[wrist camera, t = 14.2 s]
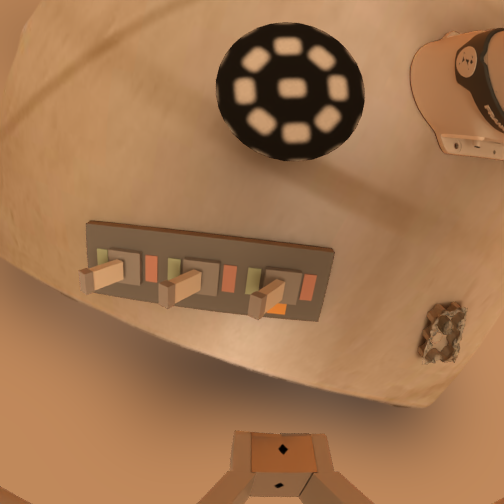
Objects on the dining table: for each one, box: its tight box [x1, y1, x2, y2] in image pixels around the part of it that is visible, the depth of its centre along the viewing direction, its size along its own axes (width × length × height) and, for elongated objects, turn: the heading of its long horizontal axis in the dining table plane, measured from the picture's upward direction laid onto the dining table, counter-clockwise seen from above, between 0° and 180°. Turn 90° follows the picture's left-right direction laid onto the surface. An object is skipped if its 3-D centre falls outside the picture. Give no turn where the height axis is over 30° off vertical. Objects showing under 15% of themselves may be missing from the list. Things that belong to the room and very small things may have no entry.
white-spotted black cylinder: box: [216, 22, 364, 161], centre depth 25 cm, size 8×8×20 cm
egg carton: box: [418, 302, 468, 364], centre depth 43 cm, size 11×8×4 cm
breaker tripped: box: [248, 279, 285, 320], centre depth 36 cm, size 1×3×6 cm
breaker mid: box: [159, 269, 202, 309], centre depth 35 cm, size 1×3×6 cm, turn 172°
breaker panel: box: [86, 221, 335, 322], centre depth 39 cm, size 32×10×2 cm, turn 83°
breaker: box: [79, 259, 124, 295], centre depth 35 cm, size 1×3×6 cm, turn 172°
